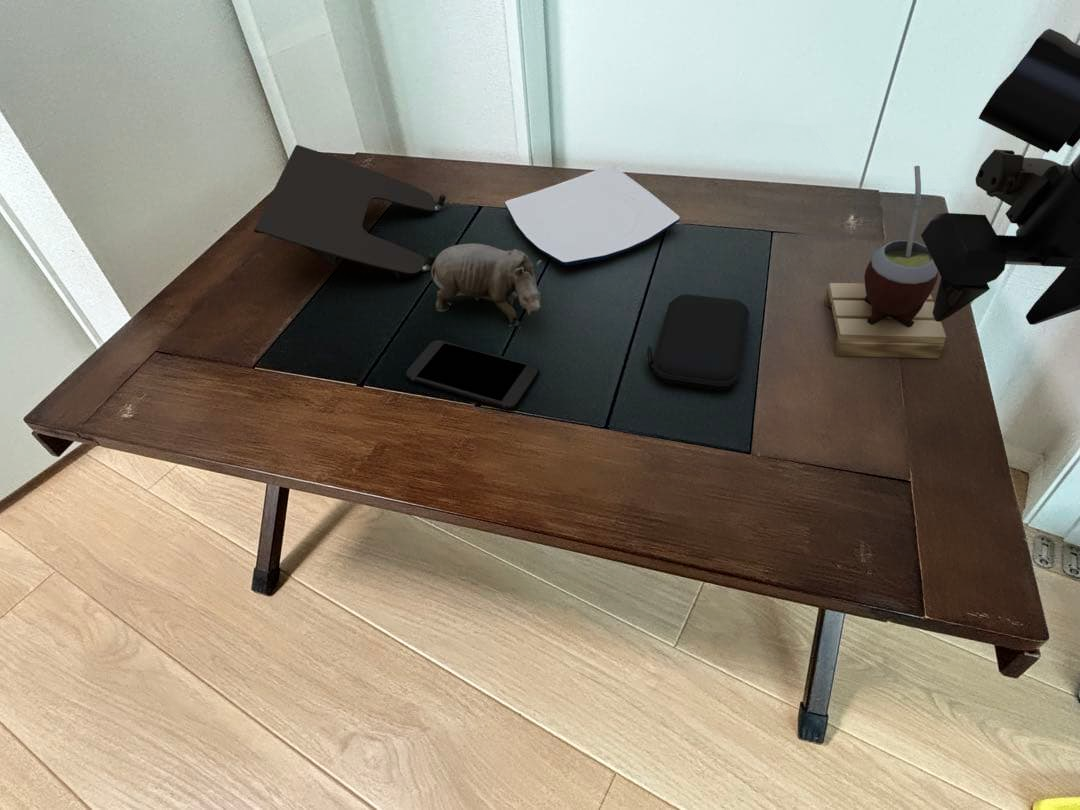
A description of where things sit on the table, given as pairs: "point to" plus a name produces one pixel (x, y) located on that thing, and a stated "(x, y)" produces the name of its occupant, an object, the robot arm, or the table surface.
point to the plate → (590, 217)
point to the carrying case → (701, 342)
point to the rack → (881, 327)
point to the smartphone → (473, 374)
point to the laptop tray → (340, 211)
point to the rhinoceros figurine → (486, 277)
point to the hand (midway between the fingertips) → (982, 319)
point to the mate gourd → (900, 274)
